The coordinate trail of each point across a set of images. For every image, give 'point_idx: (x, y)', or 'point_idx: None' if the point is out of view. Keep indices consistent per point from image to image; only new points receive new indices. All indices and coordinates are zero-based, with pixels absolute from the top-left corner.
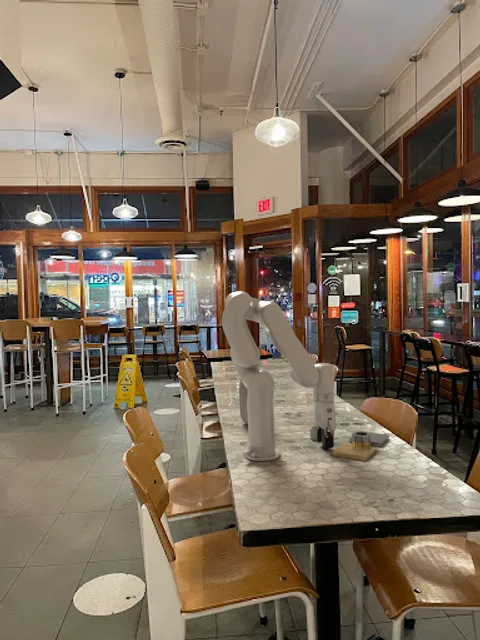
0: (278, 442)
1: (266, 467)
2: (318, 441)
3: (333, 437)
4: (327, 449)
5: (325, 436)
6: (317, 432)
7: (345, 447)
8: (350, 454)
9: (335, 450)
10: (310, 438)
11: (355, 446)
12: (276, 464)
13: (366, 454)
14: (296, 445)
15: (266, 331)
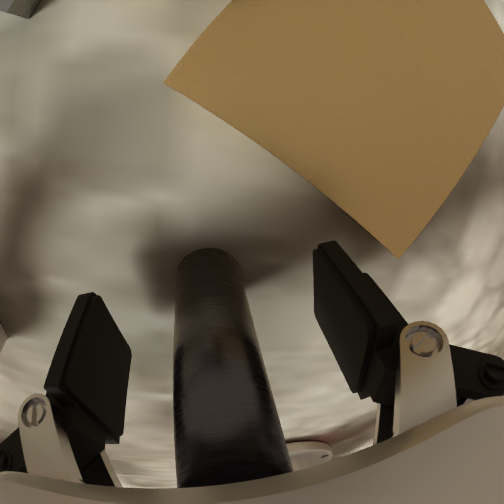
0: (106, 444)
1: (372, 435)
2: (127, 349)
3: (392, 312)
4: (236, 264)
5: (269, 385)
6: (118, 432)
7: (345, 101)
8: (483, 139)
9: (393, 232)
10: (3, 344)
11: None
12: (364, 427)
13: (500, 37)
14: (135, 411)
15: None
